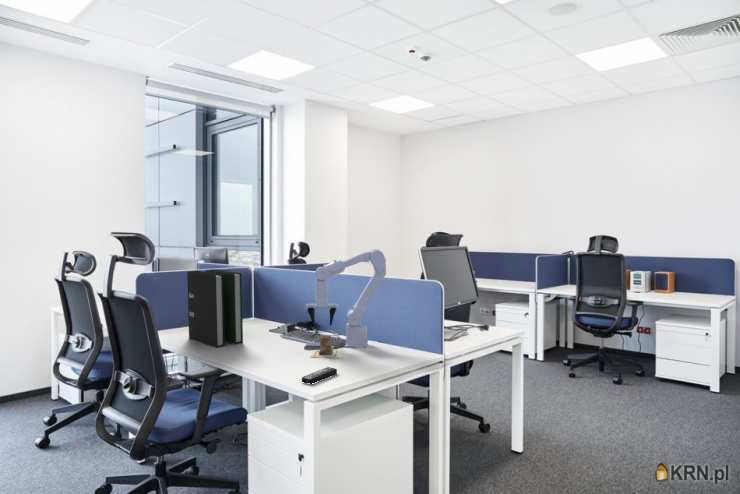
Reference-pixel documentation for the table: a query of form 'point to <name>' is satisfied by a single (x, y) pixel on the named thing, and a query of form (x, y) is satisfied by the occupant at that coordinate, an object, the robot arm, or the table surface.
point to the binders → (215, 307)
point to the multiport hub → (319, 375)
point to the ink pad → (312, 346)
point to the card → (334, 354)
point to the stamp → (325, 345)
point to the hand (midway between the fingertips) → (322, 324)
